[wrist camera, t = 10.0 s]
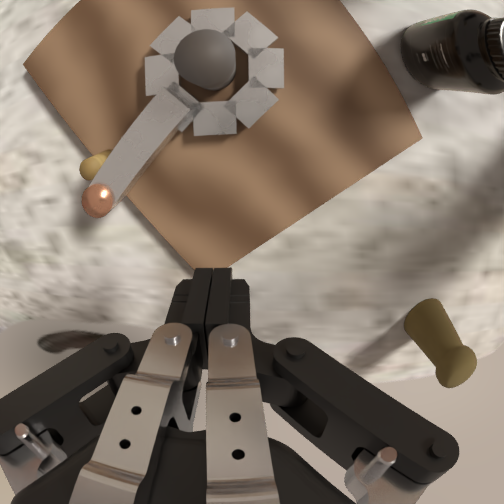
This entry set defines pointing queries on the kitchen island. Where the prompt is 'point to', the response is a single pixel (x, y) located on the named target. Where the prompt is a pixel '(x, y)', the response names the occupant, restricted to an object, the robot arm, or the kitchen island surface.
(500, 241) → the kitchen island surface
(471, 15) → the supplement bottle
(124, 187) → the segmented ring with handle
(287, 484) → the robot arm
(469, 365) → the cork
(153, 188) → the board
